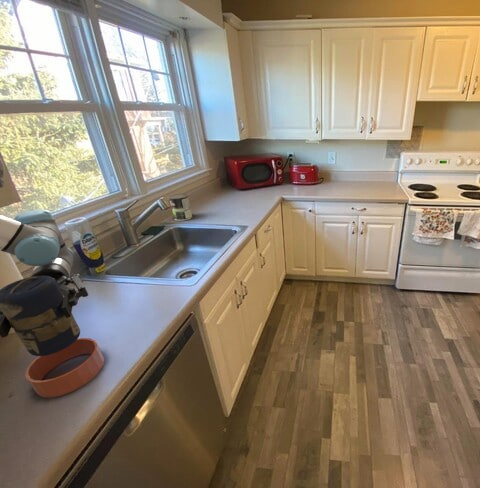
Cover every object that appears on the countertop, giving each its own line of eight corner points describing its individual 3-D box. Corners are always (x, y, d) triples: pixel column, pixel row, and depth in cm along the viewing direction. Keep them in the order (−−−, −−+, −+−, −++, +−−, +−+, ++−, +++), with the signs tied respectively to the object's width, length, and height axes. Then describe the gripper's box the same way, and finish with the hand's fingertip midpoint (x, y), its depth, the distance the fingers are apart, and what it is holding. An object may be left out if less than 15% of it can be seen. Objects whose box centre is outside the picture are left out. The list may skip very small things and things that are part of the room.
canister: (19, 355, 64) (-24, 291, 56) (63, 327, 72) (30, 267, 65) (51, 363, 62) (10, 297, 54) (92, 333, 70) (62, 272, 63)
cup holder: (33, 378, 70) (22, 361, 68) (97, 346, 80) (89, 330, 77) (42, 411, 63) (30, 393, 60) (112, 372, 72) (104, 355, 69)
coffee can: (177, 222, 168) (171, 199, 161) (172, 217, 175) (166, 196, 168) (195, 218, 174) (190, 196, 168) (189, 214, 181) (184, 192, 175)
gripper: (105, 274, 84) (104, 315, 67) (0, 302, 72) (-32, 358, 56) (96, 252, 80) (92, 289, 64) (-16, 277, 69) (-54, 330, 52)
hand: (35, 321), depth 60 cm, fingers closed on canister, 9 cm apart
